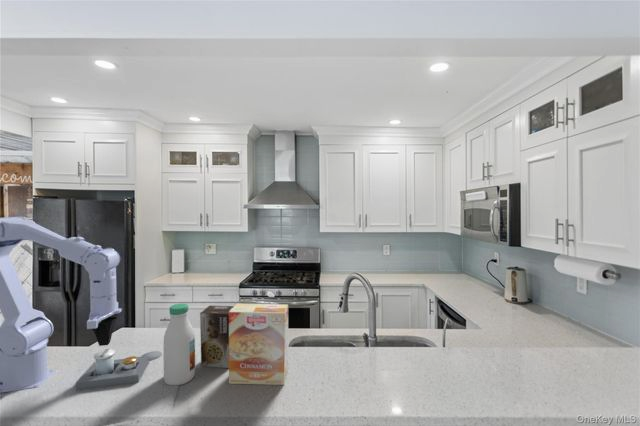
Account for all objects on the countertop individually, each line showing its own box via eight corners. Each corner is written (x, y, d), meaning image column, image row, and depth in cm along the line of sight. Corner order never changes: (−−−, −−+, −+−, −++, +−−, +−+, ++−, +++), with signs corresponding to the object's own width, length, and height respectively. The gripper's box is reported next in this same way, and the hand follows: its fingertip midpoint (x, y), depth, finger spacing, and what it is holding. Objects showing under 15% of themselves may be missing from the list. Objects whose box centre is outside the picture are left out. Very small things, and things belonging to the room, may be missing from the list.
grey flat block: (76, 392, 76) (75, 382, 76) (94, 370, 86) (94, 362, 86) (138, 383, 80) (138, 374, 80) (149, 363, 89) (149, 355, 89)
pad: (137, 363, 89) (137, 362, 89) (143, 353, 95) (143, 352, 95) (159, 360, 91) (159, 359, 91) (164, 351, 97) (164, 350, 97)
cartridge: (91, 382, 79) (90, 357, 79) (99, 373, 84) (98, 349, 83) (111, 380, 80) (110, 355, 80) (117, 370, 85) (117, 347, 85)
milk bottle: (183, 388, 78) (182, 312, 77) (157, 384, 79) (156, 309, 79) (200, 372, 85) (200, 302, 85) (176, 368, 87) (175, 300, 86)
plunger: (120, 376, 82) (120, 363, 81) (125, 369, 85) (125, 357, 85) (134, 374, 82) (134, 361, 82) (138, 368, 86) (138, 355, 86)
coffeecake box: (228, 384, 80) (227, 311, 79) (236, 369, 87) (236, 302, 86) (284, 386, 79) (284, 312, 78) (288, 370, 86) (288, 303, 86)
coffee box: (238, 357, 94) (238, 305, 93) (230, 368, 87) (229, 313, 86) (210, 355, 94) (209, 304, 94) (199, 366, 88) (199, 312, 87)
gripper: (109, 302, 75) (110, 355, 76) (129, 286, 89) (130, 331, 90) (76, 304, 73) (77, 359, 74) (102, 287, 87) (103, 334, 88)
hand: (104, 344), depth 82 cm, fingers closed
